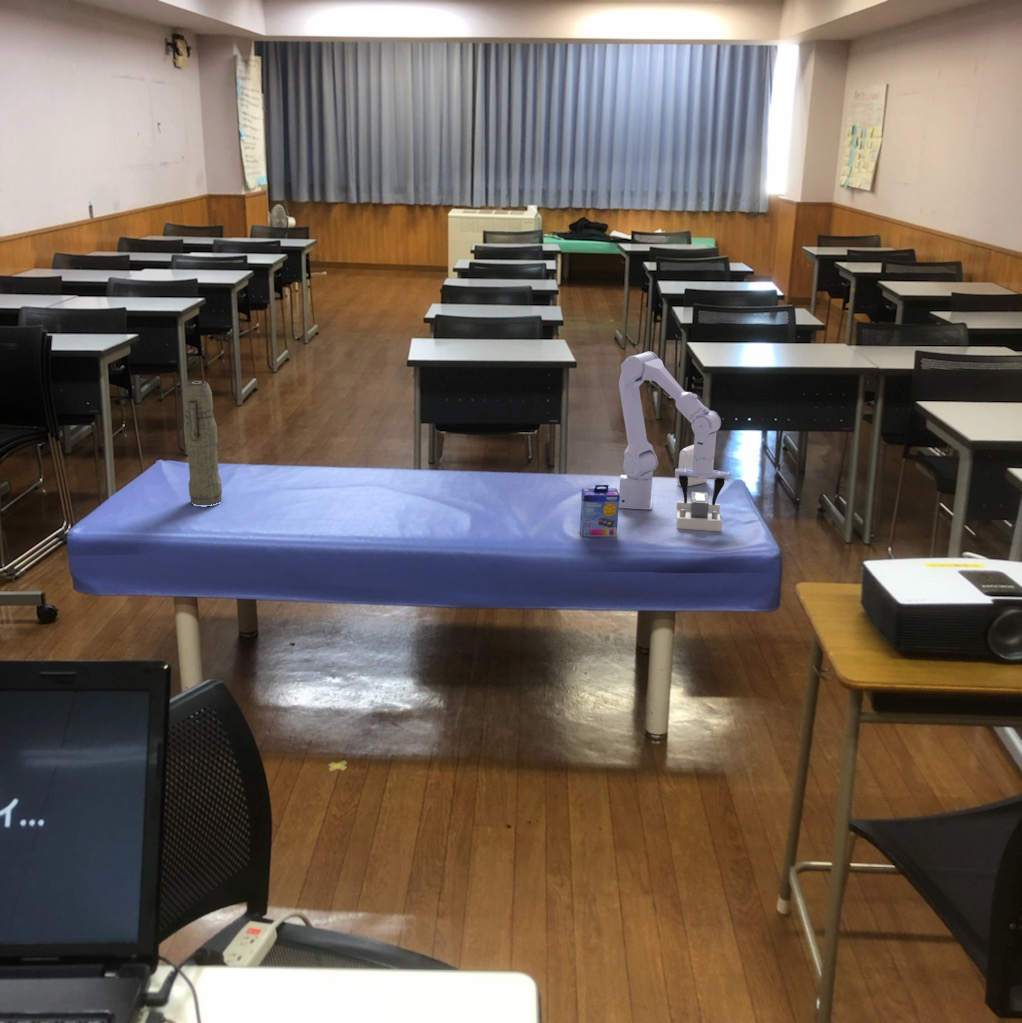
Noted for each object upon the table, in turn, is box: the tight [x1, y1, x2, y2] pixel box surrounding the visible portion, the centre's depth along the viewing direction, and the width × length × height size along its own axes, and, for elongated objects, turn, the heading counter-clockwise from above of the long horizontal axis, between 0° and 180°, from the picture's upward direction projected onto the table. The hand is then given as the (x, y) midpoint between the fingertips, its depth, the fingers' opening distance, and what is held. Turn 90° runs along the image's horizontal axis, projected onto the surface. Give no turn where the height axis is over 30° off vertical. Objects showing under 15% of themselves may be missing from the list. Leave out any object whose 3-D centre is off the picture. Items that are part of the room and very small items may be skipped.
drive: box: [690, 491, 710, 519], centre depth 300 cm, size 4×9×6 cm, turn 172°
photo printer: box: [676, 444, 708, 487], centre depth 330 cm, size 10×4×12 cm, turn 123°
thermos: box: [182, 379, 223, 505], centre depth 302 cm, size 9×12×35 cm
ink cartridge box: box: [579, 484, 620, 538], centre depth 288 cm, size 10×6×14 cm, turn 95°
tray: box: [675, 500, 723, 532], centre depth 301 cm, size 12×14×3 cm
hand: (699, 502), depth 299 cm, fingers open, 7 cm apart
